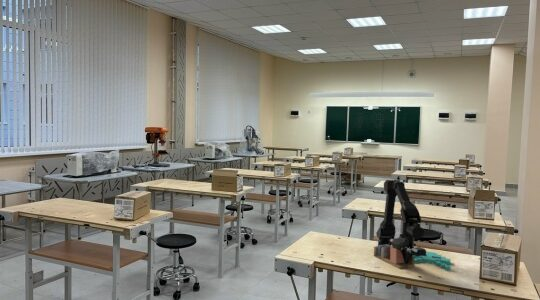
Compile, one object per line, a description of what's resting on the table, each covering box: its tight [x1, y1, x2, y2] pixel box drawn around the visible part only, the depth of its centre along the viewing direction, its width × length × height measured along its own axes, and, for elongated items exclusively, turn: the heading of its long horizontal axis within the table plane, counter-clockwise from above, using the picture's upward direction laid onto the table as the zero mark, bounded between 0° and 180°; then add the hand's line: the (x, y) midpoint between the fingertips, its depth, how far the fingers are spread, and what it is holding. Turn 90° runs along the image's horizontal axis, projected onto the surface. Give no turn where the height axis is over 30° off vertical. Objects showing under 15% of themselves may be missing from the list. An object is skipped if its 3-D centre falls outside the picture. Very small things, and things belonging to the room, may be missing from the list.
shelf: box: [373, 244, 415, 270], centre depth 198 cm, size 9×19×6 cm, turn 24°
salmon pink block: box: [390, 245, 404, 264], centre depth 194 cm, size 7×4×8 cm, turn 114°
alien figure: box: [413, 250, 451, 272], centre depth 201 cm, size 20×2×20 cm
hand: (406, 264), depth 189 cm, fingers closed
